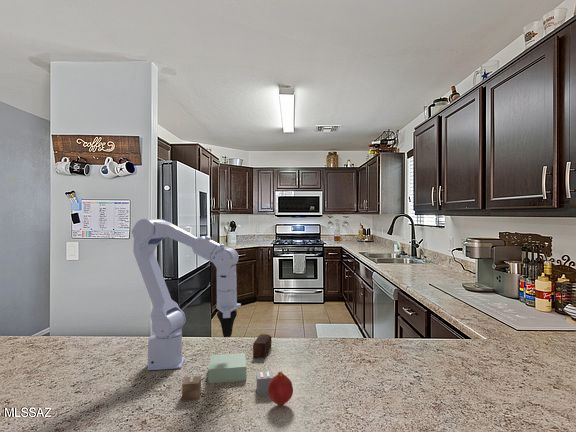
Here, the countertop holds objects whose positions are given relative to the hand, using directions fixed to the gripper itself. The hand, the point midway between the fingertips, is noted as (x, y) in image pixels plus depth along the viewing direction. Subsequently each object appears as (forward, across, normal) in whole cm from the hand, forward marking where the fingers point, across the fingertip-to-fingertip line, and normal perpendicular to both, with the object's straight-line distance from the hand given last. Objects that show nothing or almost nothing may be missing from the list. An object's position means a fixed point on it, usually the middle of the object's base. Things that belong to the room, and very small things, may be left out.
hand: (227, 336), depth 104 cm
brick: (+10, +11, -11) cm, 19 cm away
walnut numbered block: (+9, -15, +8) cm, 20 cm away
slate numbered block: (+9, -15, -10) cm, 20 cm away
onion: (+10, -23, -12) cm, 28 cm away
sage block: (+10, -4, 0) cm, 10 cm away
